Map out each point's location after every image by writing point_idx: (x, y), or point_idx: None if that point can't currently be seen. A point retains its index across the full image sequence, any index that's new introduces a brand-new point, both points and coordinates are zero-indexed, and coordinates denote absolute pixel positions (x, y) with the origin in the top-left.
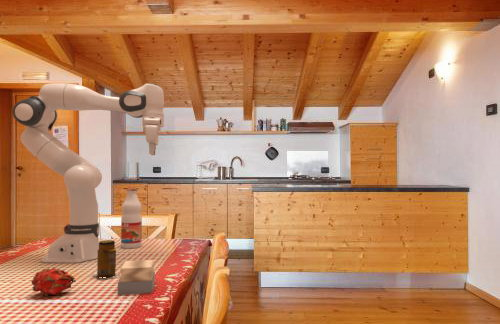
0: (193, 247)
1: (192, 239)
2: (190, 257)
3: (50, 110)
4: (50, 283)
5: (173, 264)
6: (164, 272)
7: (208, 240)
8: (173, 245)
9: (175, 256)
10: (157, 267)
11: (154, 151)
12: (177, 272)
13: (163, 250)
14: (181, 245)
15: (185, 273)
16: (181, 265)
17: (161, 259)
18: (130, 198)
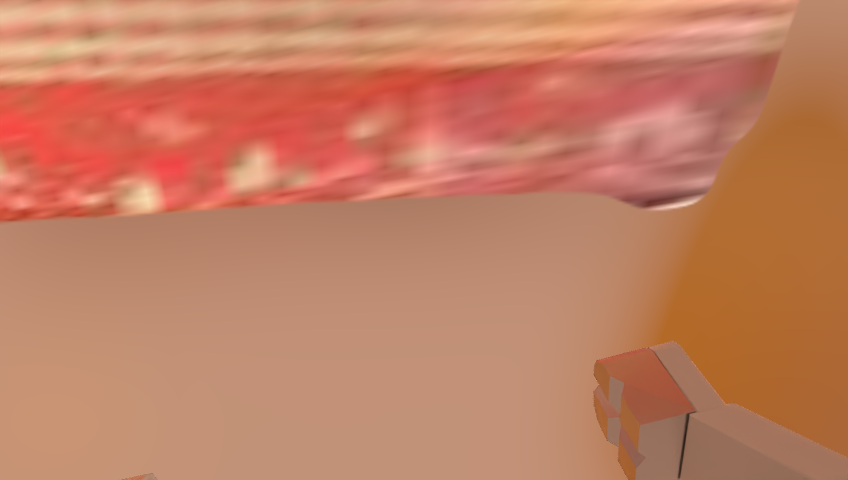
0: (537, 148)
1: (744, 106)
2: (315, 175)
3: None
4: None
5: (165, 127)
6: (6, 120)
7: (694, 190)
8: (605, 32)
9: (333, 101)
10: (90, 63)
11: (630, 474)
12: (24, 175)
13: (479, 2)
14: (597, 77)
15: (17, 210)
16: (153, 166)
17: (262, 43)
18: None
